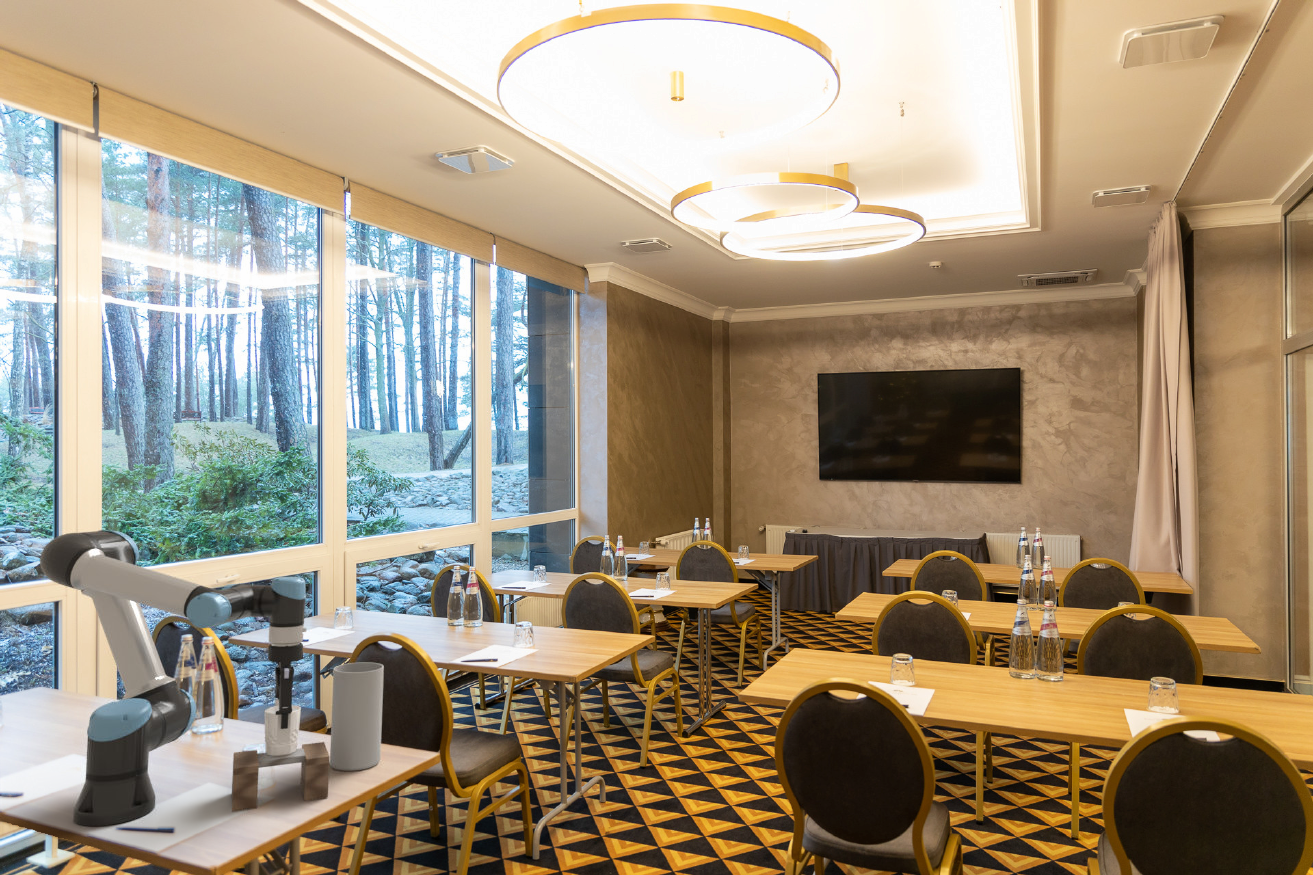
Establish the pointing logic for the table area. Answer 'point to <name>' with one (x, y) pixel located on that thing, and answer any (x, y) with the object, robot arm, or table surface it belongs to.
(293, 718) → the white cup
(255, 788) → the shelf
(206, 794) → the table surface
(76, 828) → the table surface
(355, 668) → the cylinder vase
